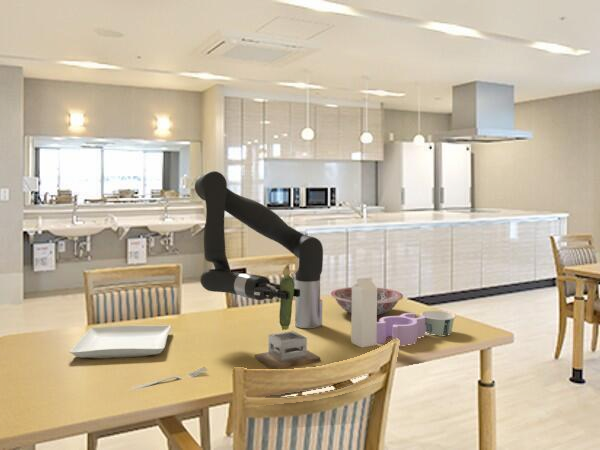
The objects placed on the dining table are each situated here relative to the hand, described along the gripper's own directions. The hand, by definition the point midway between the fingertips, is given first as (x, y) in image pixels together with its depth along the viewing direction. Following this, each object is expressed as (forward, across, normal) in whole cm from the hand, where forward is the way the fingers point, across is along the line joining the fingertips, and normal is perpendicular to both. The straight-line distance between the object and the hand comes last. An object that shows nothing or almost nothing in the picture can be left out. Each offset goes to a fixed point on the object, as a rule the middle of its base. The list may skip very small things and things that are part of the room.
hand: (294, 294), depth 153 cm
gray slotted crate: (-2, 0, +20) cm, 20 cm away
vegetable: (-3, 0, +11) cm, 12 cm away
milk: (+7, +28, +20) cm, 35 cm away
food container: (+21, +55, +20) cm, 62 cm away
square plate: (-51, -24, +22) cm, 60 cm away
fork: (-17, -34, +21) cm, 43 cm away
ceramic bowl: (-13, +63, +20) cm, 67 cm away
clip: (+15, +41, +20) cm, 48 cm away
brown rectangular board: (-2, 0, +20) cm, 20 cm away
